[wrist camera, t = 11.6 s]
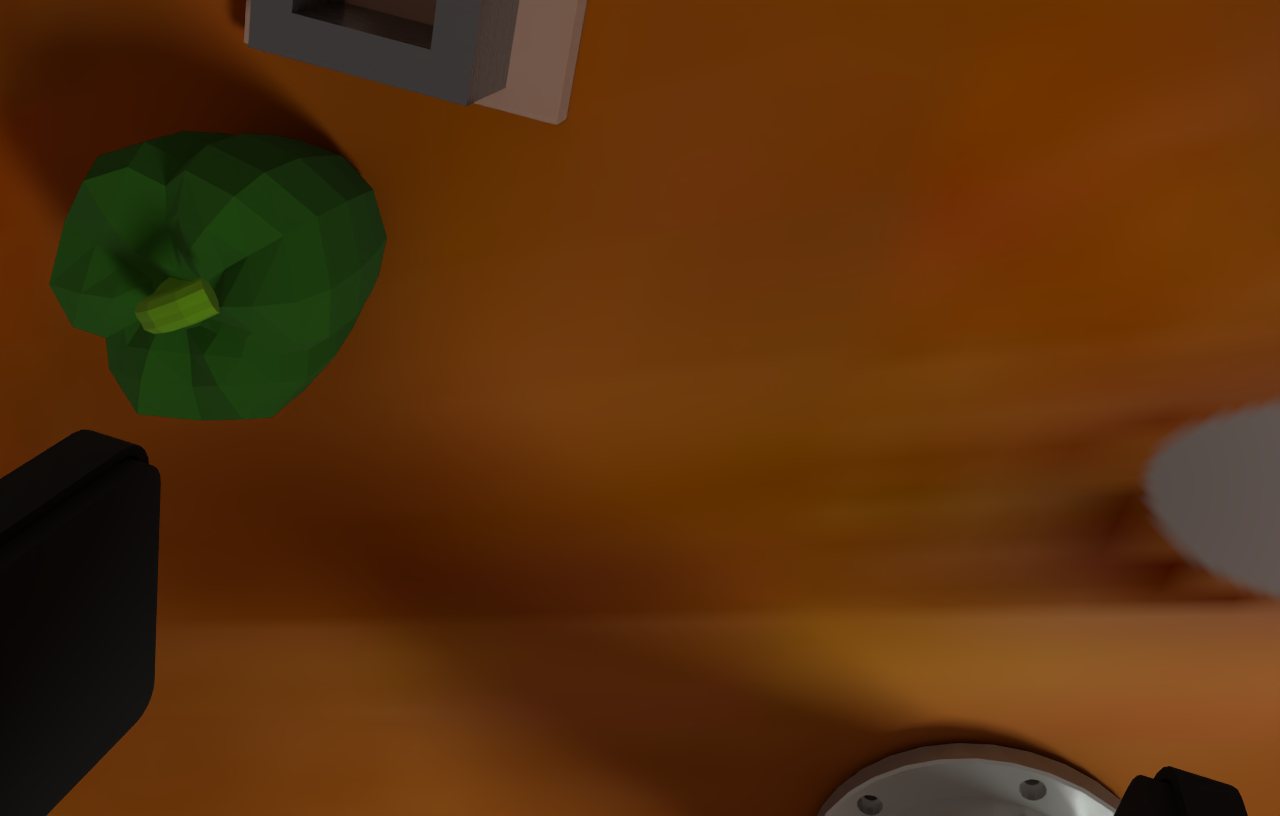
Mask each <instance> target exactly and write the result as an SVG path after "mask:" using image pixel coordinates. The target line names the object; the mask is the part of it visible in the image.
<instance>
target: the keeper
mask: <svg viewBox="0 0 1280 816" xmlns="http://www.w3.org/2000/svg"><path fill="white" fill-rule="evenodd" d="M345 3H349V4H353V5H357V6H361V7H364V8H368V9H372V10H376V11H380V12H383V13H387V14H391V15H395V16H399V17H402V18H406V19H410V20H414V21H418V22H422V23H425V24H429V25H433V26H434V19H435V11H436V3H437V0H345ZM586 3H587V0H519V7H518V13H517V19H516V26H515V32H514V38H513V45H512V51H511V57H510V64H509V70H508V76H507V83H506V88H504V89H502V90H500V91H498V92H495V93H493V94H491V95H489V96H487V97H485V98H483V99H480V100H478V101H476V102H474V103H475V104H479V105H483V106H487V107H491V108H494V109H498V110H502V111H506V112H510V113H513V114H517V115H521V116H525V117H529V118H532V119H536V120H540V121H544V122H548V123H552V124H555V125H557V124H559V123H560V122H562V121H563V120H565V119H566V117H567V111H568V106H569V100H570V94H571V89H572V83H573V77H574V72H575V66H576V60H577V55H578V49H579V43H580V37H581V32H582V26H583V20H584V15H585V9H586ZM250 10H251V0H246V14H245V32H244V43H247V44H248V41H249V25H250Z"/></svg>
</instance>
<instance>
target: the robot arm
mask: <svg viewBox="0 0 1280 816" xmlns="http://www.w3.org/2000/svg"><path fill="white" fill-rule="evenodd" d="M160 486H161V481H160V474H159V471H158V469H157V468H156V467H154V466H153V465H149V461H148V456H147V454H146V452H145V450H144V449H143V448H142V447H140V446H139V445H136V444H133V443H129V442H126V441H123V440H120V439H117V438H113V437H110V436H107V435H104V434H101V433H97V432H94V431H91V430H80V431H78V432H75V433H73V434H71V435H70V436H68V437H66V438H65V439H63V440H62V441H60V442H59V443H57V444H55V445H54V446H52V447H51V448H49V449H47V450H46V451H44V452H43V453H41V454H39V455H38V456H36V457H35V458H33V459H31V460H30V461H28V462H27V463H25V464H23V465H22V466H20V467H19V468H17V469H16V470H14V471H12V472H11V473H9V474H8V475H6V476H4V477H3V478H1V479H0V816H46V815H47V814H48V813H49V812H50V811H51V810H52V809H53V808H54V807H55V806H56V805H57V804H58V803H59V802H60V801H61V800H62V799H63V798H64V797H65V796H66V795H67V794H68V792H69V791H70V790H71V789H72V788H73V787H74V786H75V785H76V784H77V783H78V782H79V781H80V780H81V779H82V778H83V777H84V776H85V775H86V774H87V773H88V772H89V771H90V770H91V769H92V768H93V767H94V766H95V765H96V764H97V763H98V761H99V760H100V759H101V758H102V757H103V756H104V755H105V754H106V753H107V752H108V751H109V750H110V749H111V748H112V747H113V746H114V745H115V744H116V743H117V742H118V741H119V740H120V739H121V738H122V737H123V736H124V735H125V734H126V733H127V732H128V730H129V729H130V728H131V727H132V726H133V725H134V724H135V723H136V722H137V721H138V720H139V718H140V717H141V716H142V714H143V713H144V711H145V709H146V708H147V705H148V703H149V701H150V699H151V696H152V692H153V688H154V678H155V646H156V614H157V582H158V550H159V518H160ZM817 816H1248V815H1247V812H1246V809H1245V806H1244V803H1243V800H1242V797H1241V795H1240V793H1239V791H1238V790H1237V789H1236V788H1235V787H1233V786H1231V785H1228V784H1225V783H1222V782H1219V781H1215V780H1212V779H1209V778H1206V777H1202V776H1199V775H1196V774H1193V773H1190V772H1186V771H1183V770H1180V769H1177V768H1174V767H1170V766H1168V767H1163V768H1162V769H1161V770H1160V771H1159V772H1158V773H1157V774H1156V776H1155V777H1154V779H1152V778H1149V777H1146V776H1143V775H1138V776H1136V777H1135V778H1134V779H1133V780H1132V782H1131V783H1130V785H1129V786H1128V788H1127V790H1126V792H1125V794H1124V796H1123V798H1122V800H1120V799H1118V798H1117V797H1116V796H1115V795H1113V794H1112V793H1111V792H1110V791H1108V790H1107V789H1106V788H1104V787H1103V786H1102V785H1101V784H1099V783H1098V782H1097V781H1095V780H1093V779H1091V778H1090V777H1088V776H1086V775H1084V774H1082V773H1080V772H1079V771H1077V770H1075V769H1073V768H1071V767H1069V766H1067V765H1066V764H1063V763H1060V762H1058V761H1055V760H1052V759H1049V758H1046V757H1044V756H1041V755H1038V754H1035V753H1032V752H1029V751H1024V750H1019V749H1013V748H1008V747H1003V746H998V745H990V744H968V743H953V744H944V745H935V746H925V747H920V748H916V749H913V750H909V751H905V752H902V753H898V754H895V755H891V756H888V757H886V758H884V759H882V760H880V761H878V762H876V763H874V764H872V765H870V766H868V767H865V768H863V769H861V770H860V771H859V772H857V773H856V774H855V775H853V776H852V777H851V778H849V779H848V780H847V781H845V782H844V783H843V784H841V785H840V786H839V787H838V788H837V789H836V790H835V791H834V792H833V794H832V795H831V796H830V797H829V798H828V799H827V801H826V802H825V803H824V804H823V805H822V806H821V808H820V810H819V812H818V814H817Z"/></svg>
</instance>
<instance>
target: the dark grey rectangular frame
mask: <svg viewBox="0 0 1280 816" xmlns="http://www.w3.org/2000/svg"><path fill="white" fill-rule="evenodd" d="M518 7H519V0H437V3H436V11H435V19H434V26H433V25H429V24H425V23H422V22H418V21H414V20H410V19H406V18H402V17H399V16H395V15H391V14H387V13H383V12H380V11H376V10H372V9H368V8H364V7H361V6H357V5H353V4H349V3H345V0H251V10H250V25H249V41H248V47H250V48H254V49H257V50H261V51H265V52H268V53H272V54H276V55H280V56H283V57H287V58H291V59H294V60H298V61H302V62H306V63H309V64H313V65H317V66H320V67H324V68H328V69H331V70H335V71H339V72H343V73H346V74H350V75H354V76H357V77H361V78H365V79H369V80H372V81H376V82H380V83H383V84H387V85H391V86H394V87H398V88H402V89H406V90H409V91H413V92H417V93H420V94H424V95H428V96H432V97H435V98H439V99H443V100H446V101H450V102H454V103H457V104H461V105H465V106H467V105H470V104H472V103H474V102H476V101H478V100H480V99H483V98H485V97H487V96H489V95H491V94H493V93H495V92H498V91H500V90H502V89H504V88H506V83H507V76H508V70H509V64H510V57H511V51H512V45H513V38H514V32H515V26H516V19H517V13H518Z"/></svg>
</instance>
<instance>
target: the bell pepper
mask: <svg viewBox="0 0 1280 816" xmlns="http://www.w3.org/2000/svg"><path fill="white" fill-rule="evenodd" d="M386 239H387V237H386V233H385V230H384V226H383V223H382V219H381V216H380V212H379V209H378V205H377V202H376V198H375V195H374V192H373V189H372V188H371V187H370V186H369V185H368V184H367V182H366V181H365V180H364V179H363V178H362V177H361V176H360V175H359V174H358V172H357V171H356V170H355V169H354V168H353V167H352V166H351V165H350V163H349V162H348V161H347V160H346V159H345V158H344V157H343V156H341V155H339V154H336V153H333V152H330V151H328V150H325V149H322V148H319V147H317V146H314V145H311V144H309V143H306V142H303V141H300V140H298V139H293V138H287V137H282V136H277V135H264V134H249V133H243V134H240V135H237V136H235V135H229V134H222V133H206V132H190V131H182V132H178V133H174V134H171V135H167V136H163V137H160V138H156V139H153V140H149V141H145V142H142V143H139V144H136V145H132V146H129V147H126V148H123V149H119V150H116V151H113V152H110V153H107V154H103V155H100V156H98V158H97V159H96V161H95V163H94V164H93V166H92V167H91V169H90V171H89V172H88V174H87V176H86V177H85V179H84V181H83V183H82V185H81V187H80V189H79V191H78V194H77V196H76V198H75V200H74V202H73V204H72V206H71V209H70V211H69V213H68V215H67V217H66V219H65V223H64V227H63V231H62V235H61V239H60V243H59V247H58V251H57V255H56V259H55V263H54V267H53V271H52V275H51V279H50V283H49V285H50V287H51V289H52V290H53V292H54V294H55V296H56V298H57V299H58V301H59V303H60V305H61V306H62V308H63V310H64V312H65V314H66V315H67V317H68V319H69V321H70V322H71V324H72V326H73V327H75V328H78V329H80V330H83V331H86V332H89V333H92V334H95V335H98V336H101V337H104V338H106V344H107V354H108V363H109V369H110V371H111V372H112V374H113V376H114V377H115V379H116V380H117V382H118V384H119V385H120V387H121V388H122V390H123V392H124V393H125V395H126V396H127V398H128V400H129V401H130V403H131V404H132V406H133V408H134V409H135V411H136V413H137V414H142V415H152V416H162V417H172V418H182V419H192V420H235V419H254V418H269V417H273V416H274V415H275V414H276V413H277V412H279V411H280V410H281V409H282V408H283V407H285V406H286V405H287V404H288V403H289V402H291V401H292V400H293V399H294V398H296V397H297V396H298V395H299V394H300V393H302V392H303V391H304V390H305V389H306V388H307V387H308V385H309V384H310V383H311V382H312V381H313V380H314V379H315V378H316V377H317V375H318V374H319V373H320V372H321V371H322V370H323V369H324V368H325V367H326V365H327V364H328V363H329V362H330V361H331V360H332V359H333V358H334V357H335V355H336V354H337V352H338V351H339V349H340V347H341V346H342V344H343V343H344V341H345V339H346V338H347V336H348V334H349V333H350V331H351V330H352V328H353V326H354V324H355V322H356V320H357V318H358V316H359V314H360V312H361V310H362V307H363V305H364V303H365V301H366V300H367V298H368V297H369V295H370V293H371V291H372V289H373V287H374V285H375V283H376V280H377V278H378V276H379V272H380V267H381V262H382V258H383V253H384V248H385V244H386Z"/></svg>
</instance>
